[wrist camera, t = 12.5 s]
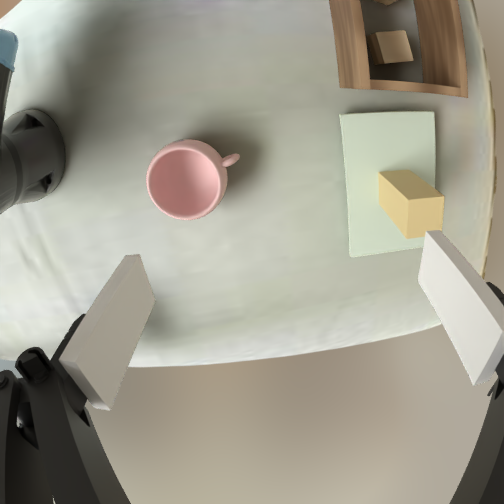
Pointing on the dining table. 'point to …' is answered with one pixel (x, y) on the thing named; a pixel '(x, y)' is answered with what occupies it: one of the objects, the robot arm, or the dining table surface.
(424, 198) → the lid
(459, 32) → the box
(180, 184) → the mug
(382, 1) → the block
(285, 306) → the dining table surface
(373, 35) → the block
